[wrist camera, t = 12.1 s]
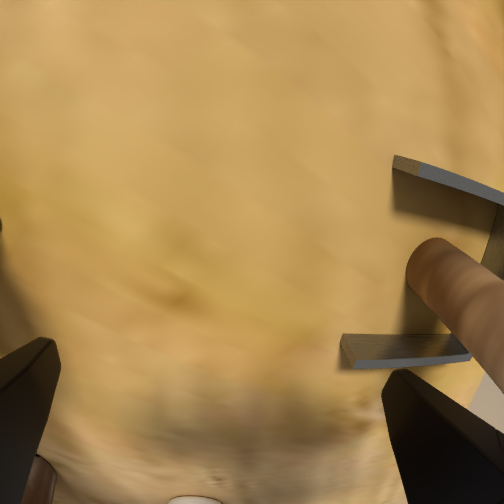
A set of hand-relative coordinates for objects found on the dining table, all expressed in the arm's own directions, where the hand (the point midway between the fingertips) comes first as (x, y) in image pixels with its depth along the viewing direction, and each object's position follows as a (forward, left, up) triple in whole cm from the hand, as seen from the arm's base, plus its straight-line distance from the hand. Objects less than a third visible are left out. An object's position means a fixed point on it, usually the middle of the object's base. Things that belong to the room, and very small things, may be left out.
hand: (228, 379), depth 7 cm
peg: (+11, -10, -12) cm, 19 cm away
